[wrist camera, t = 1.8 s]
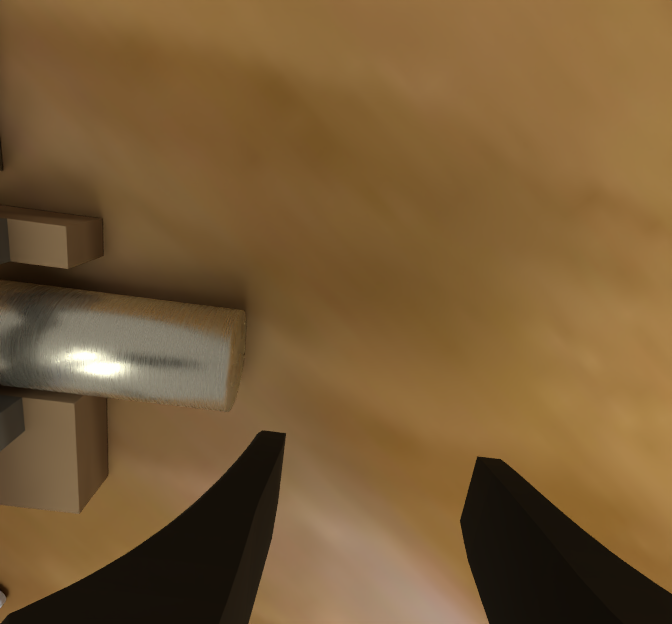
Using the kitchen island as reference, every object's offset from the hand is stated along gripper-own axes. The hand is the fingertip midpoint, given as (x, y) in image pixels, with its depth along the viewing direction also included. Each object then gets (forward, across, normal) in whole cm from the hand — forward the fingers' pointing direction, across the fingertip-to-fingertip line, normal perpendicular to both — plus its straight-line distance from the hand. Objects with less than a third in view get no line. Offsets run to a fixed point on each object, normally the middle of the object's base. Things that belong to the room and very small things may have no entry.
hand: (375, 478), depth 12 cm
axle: (+9, +11, 0) cm, 14 cm away
